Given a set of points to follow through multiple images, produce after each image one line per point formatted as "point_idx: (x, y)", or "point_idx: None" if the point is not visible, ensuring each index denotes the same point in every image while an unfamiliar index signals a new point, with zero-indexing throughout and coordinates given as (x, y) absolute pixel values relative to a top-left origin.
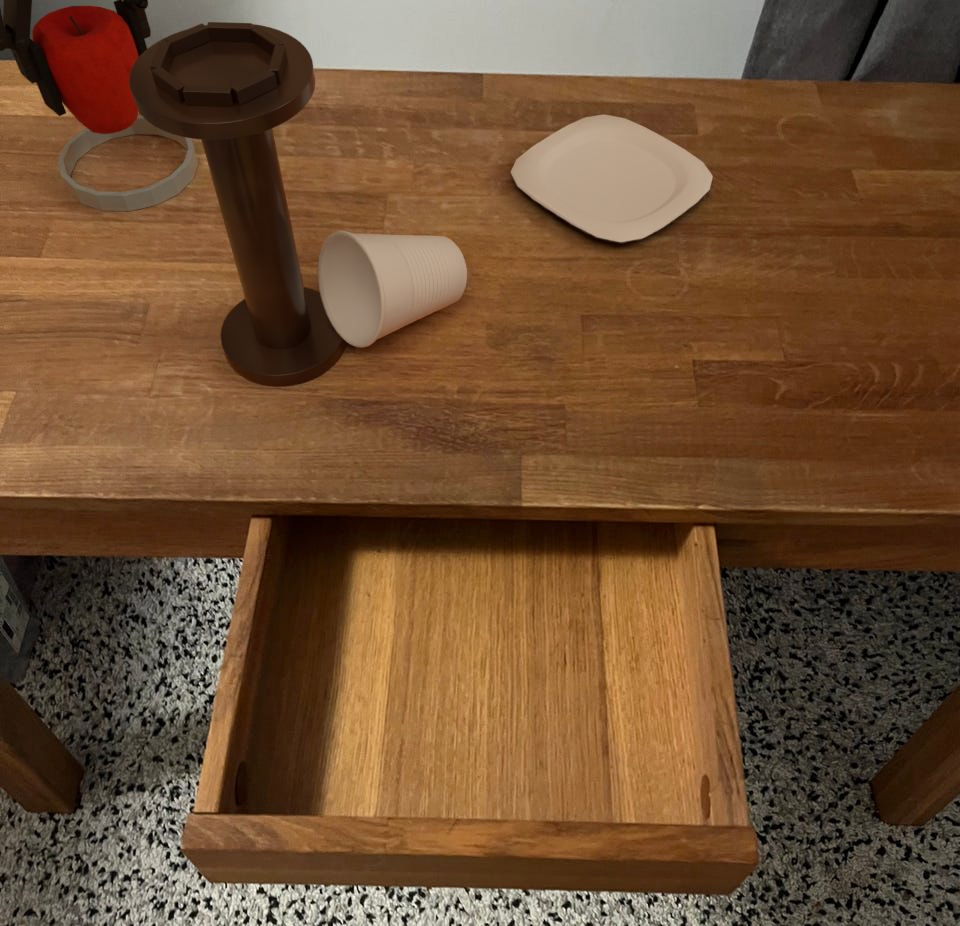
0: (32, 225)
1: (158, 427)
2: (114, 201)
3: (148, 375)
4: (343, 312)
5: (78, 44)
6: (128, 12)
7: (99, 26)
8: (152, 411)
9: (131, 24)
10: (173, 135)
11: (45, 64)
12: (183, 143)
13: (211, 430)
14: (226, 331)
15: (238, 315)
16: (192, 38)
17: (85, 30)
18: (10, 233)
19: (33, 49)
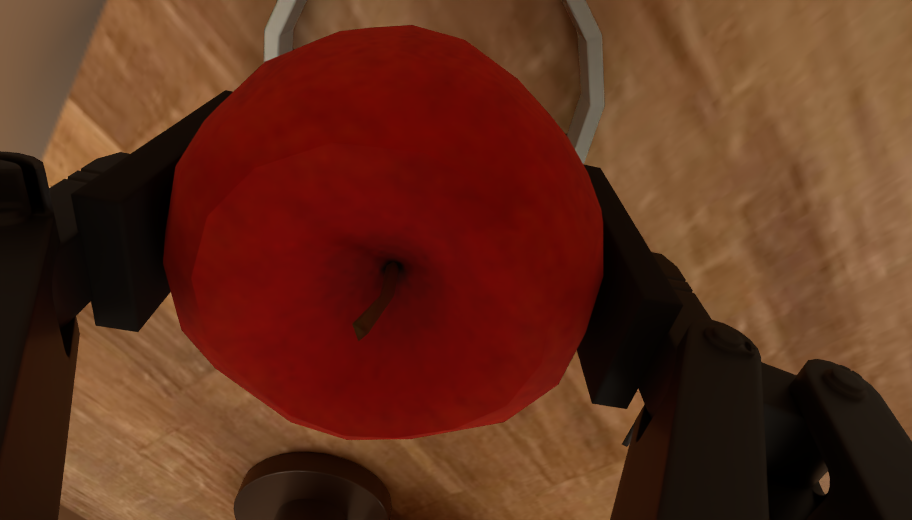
0: (154, 54)
1: (124, 479)
2: None
3: (153, 433)
4: None
5: (284, 415)
6: (594, 399)
7: (428, 398)
8: (129, 464)
9: (582, 360)
10: (583, 92)
11: None
12: (570, 134)
13: (171, 511)
14: (257, 485)
15: (286, 481)
16: None
17: (423, 276)
18: (99, 33)
19: (103, 323)
